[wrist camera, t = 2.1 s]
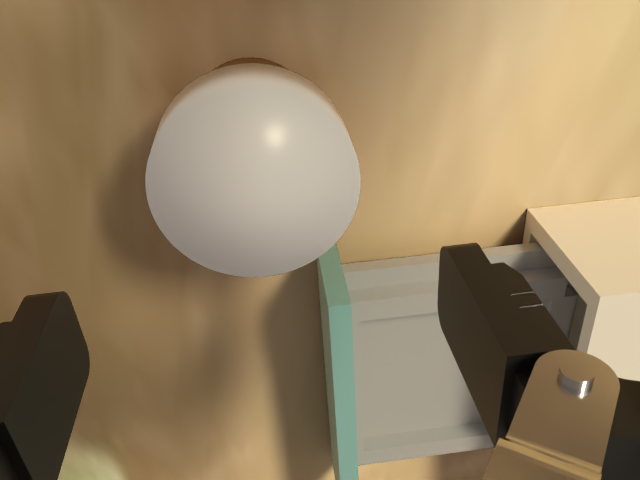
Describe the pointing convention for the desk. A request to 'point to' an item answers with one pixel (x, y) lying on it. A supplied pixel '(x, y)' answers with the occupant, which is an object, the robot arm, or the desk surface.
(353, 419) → the tray
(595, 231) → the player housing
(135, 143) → the desk surface
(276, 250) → the disc
